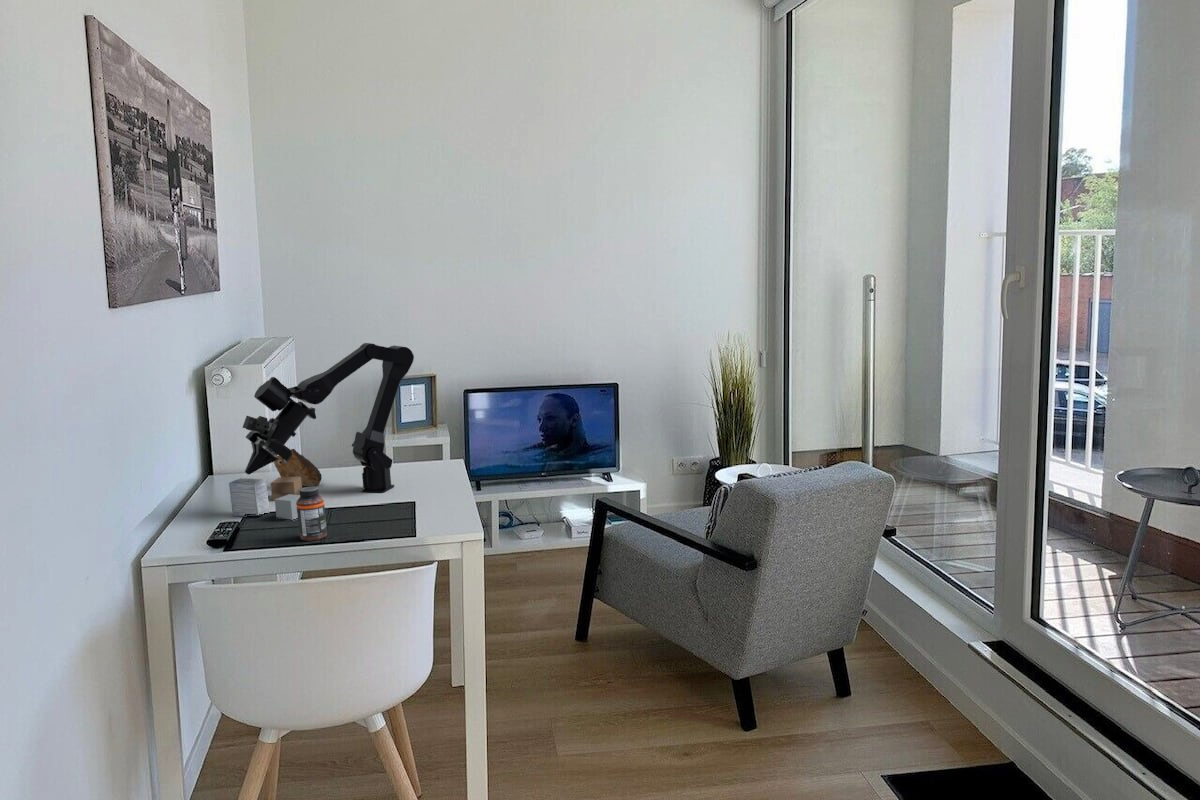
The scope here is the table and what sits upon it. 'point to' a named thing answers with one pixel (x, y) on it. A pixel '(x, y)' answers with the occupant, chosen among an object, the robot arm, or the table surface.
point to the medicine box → (249, 496)
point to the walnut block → (285, 486)
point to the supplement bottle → (311, 514)
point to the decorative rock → (299, 469)
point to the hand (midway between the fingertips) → (246, 473)
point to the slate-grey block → (287, 506)
